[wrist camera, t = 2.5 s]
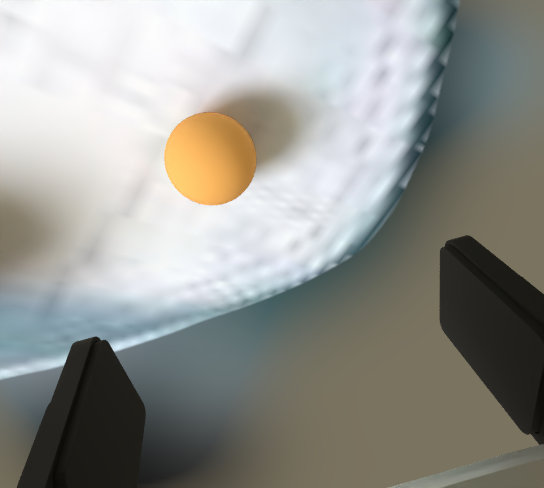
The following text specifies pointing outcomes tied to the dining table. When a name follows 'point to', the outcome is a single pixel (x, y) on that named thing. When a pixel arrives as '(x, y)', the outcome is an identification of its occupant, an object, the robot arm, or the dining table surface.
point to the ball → (210, 158)
